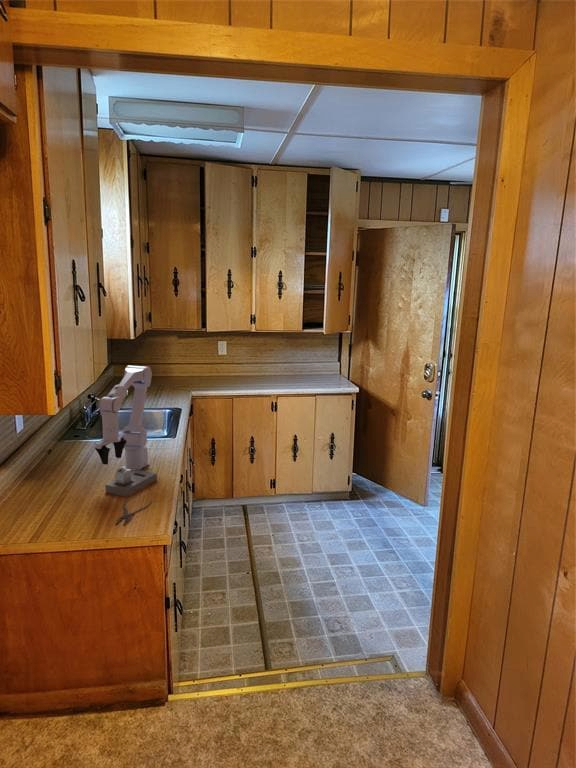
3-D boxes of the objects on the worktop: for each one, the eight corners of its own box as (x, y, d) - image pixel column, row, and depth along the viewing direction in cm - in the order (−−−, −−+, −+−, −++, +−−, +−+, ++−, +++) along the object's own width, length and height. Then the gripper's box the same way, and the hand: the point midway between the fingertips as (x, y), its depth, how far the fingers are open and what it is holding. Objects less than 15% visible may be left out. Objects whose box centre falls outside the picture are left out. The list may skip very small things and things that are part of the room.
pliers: (152, 497, 179) (145, 523, 160) (152, 500, 179) (145, 526, 160) (125, 498, 178) (114, 524, 158) (125, 500, 178) (114, 527, 158)
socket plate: (136, 475, 200) (136, 468, 199) (156, 480, 196) (156, 473, 195) (105, 492, 183) (105, 484, 183) (126, 497, 180) (126, 489, 179)
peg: (123, 487, 188) (122, 467, 187) (131, 489, 187) (130, 469, 185) (115, 491, 185) (115, 471, 183) (124, 493, 183) (123, 473, 182)
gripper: (105, 434, 178) (107, 468, 181) (131, 424, 192) (132, 456, 194) (90, 431, 181) (92, 465, 183) (117, 421, 194) (118, 453, 197)
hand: (111, 460), depth 189 cm, fingers open, 7 cm apart
